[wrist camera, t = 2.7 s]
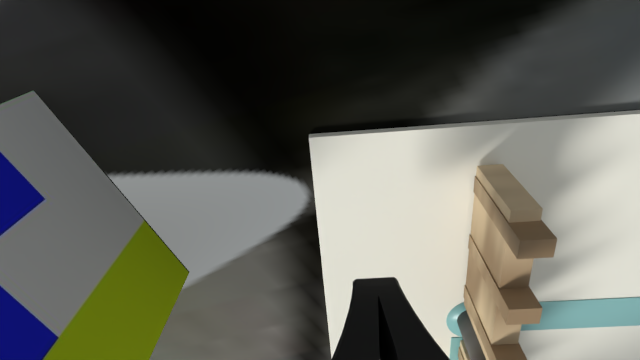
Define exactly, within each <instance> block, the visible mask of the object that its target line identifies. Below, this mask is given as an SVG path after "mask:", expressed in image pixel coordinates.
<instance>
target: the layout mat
mask: <svg viewBox="0 0 640 360" xmlns="http://www.w3.org/2000/svg"><path fill="white" fill-rule="evenodd" d="M309 145H310V155H311V164H312V174H313V184H314V193H315V203H316V213H317V222H318V232H319V242H320V251H321V261H322V271H323V280H324V290H325V300H326V309H327V319H328V328H329V338H330V348H331V357H333V355H334V352H335V350H336V347H337V344H338V342H339V339H340V336H341V334H342V331H343V328H344V324H345V321H346V318H347V314H348V311H349V306H350V302H351V297H352V288H353V281H354V280H355V279H365V278H384V277H395V278H396V279H397V280H398V282H399V285H400V287H401V289H402V291H403V293H404V294H405V296H406V298H407V300H408V301H409V303H410V305H411V307H412V308H413V310H414V311H415V313H416V314H417V316H418V317H419V319H420V320H421V322H422V323H423V325H424V326H425V328H426V329H427V331H428V332H429V333H430V335H431V336H432V337H433V339H434V340H435V341H436V343H437V344H438V345H439V346H440V348H441V349H442V350H443V352H444V353H445V354H446V355H447V356H448V358H449V359H450V360H458V359H459V358H458V349H459V347H460V340H463V338H462V335H461V332H460V329H459V327H458V324H457V318H458V316H459V315H460V314H461V313H462V312H464V311H466V308H465V306H464V297H463V296H464V285H466V276H467V265H468V255H469V249H468V243H469V234H471V224H472V213H473V203H474V192H473V190H474V179H475V176H476V171H477V166H481V165H496V164H503V165H504V166H505V167H506V168H507V169H508V170H509V171H510V172H511V174H512V175H513V176H514V177H515V178H516V179H517V180H518V181H519V183H520V184H521V185H522V186H523V187H524V188H525V189H526V190H527V192H528V193H529V194H530V195H531V196H532V197H533V198H534V199H535V201H536V202H537V203H538V204H539V205H540V206H541V207H542V208H543V211H542V216H541V220H542V221H543V222H544V223H545V225H546V226H547V227H548V228H549V229H550V230H551V232H552V233H553V234H554V235H555V236H556V238H557V243H556V248H555V253H554V257H551V258H534V260H533V265H532V271H531V276H530V281H529V287H530V289H531V290H532V292H533V293H534V295H535V297H536V298H537V300H538V301H539V303H540V305H541V306H542V308H543V309H542V314H541V319H540V324H522V325H521V330H520V335H519V341H518V342H519V344H520V346H521V348H522V350H523V352H524V354H525V356H526V358H527V360H640V110H634V111H620V112H606V113H592V114H579V115H565V116H551V117H537V118H524V119H510V120H496V121H483V122H469V123H455V124H441V125H428V126H414V127H400V128H387V129H373V130H359V131H345V132H332V133H318V134H309ZM380 360H381V359H380Z"/></svg>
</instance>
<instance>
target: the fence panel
mask: <svg viewBox="0 0 640 360" xmlns="http://www.w3.org/2000/svg"><path fill="white" fill-rule="evenodd" d="M473 192H474V203H473V213H472V224H471V234H469V243H468V249H469V255H468V265H467V276H466V285H464V296H463V297H464V306H465V308H466V311H467V313H468V316H469V318H470V321H471V323H472V326H473V328H474V331H475V333H476V335H477V338H478V340H479V343H480V345H481V348H482V350H483V353H484V355H485V358H486V360H527V358H526V356H525V354H524V352H523V350H522V348H521V346H520V344H519V342H518V341H519V335H520V330H521V325H522V324H540V319H541V314H542V309H543V308H542V306H541V305H540V303H539V301H538V300H537V298H536V297H535V295H534V293H533V292H532V290H531V289H530V287H529V281H530V276H531V271H532V265H533V260H534V258H551V257H554V253H555V248H556V243H557V238H556V236H555V235H554V234H553V233H552V232H551V230H550V229H549V228H548V227H547V226H546V225H545V223H544V222H543V221H542V220H541V216H542V211H543V208H542V207H541V206H540V205H539V204H538V203H537V202H536V201H535V199H534V198H533V197H532V196H531V195H530V194H529V193H528V192H527V190H526V189H525V188H524V187H523V186H522V185H521V184H520V183H519V181H518V180H517V179H516V178H515V177H514V176H513V175H512V174H511V172H510V171H509V170H508V169H507V168H506V167H505V166H504V165H503V164H496V165H481V166H477V171H476V176H475V179H474V190H473Z"/></svg>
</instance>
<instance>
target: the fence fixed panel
mask: <svg viewBox="0 0 640 360" xmlns="http://www.w3.org/2000/svg"><path fill="white" fill-rule="evenodd" d="M457 324H458V327H459V329H460V332H461V335H462V338H463V340H460V347H459V349H458V358H459V359H458V360H486V358H485V355H484V353H483V350H482V348H481V345H480V343H479V340H478V338H477V335H476V333H475V331H474V328H473V326H472V323H471V321H470V318H469V316H468V313H467V311H464V312H462V313H461V314H460V315H459V316H458V318H457Z"/></svg>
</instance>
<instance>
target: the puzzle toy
mask: <svg viewBox="0 0 640 360" xmlns="http://www.w3.org/2000/svg"><path fill="white" fill-rule="evenodd" d="M188 274H189V271H188V270H187V268H186V267H185V266H184V265H183V264H182V262H180V260H179V259H178V258H177V257H176V255H175V254H174V253H173V252H172V251H171V250H170V249H169V247H168V246H167V245H166V244H165V243H164V241H163V240H162V239H161V238H160V237H159V235H158V234H157V233H156V232H155V231H154V230H153V228H152V227H151V226H150V225H149V224H148V223H147V221H146V220H145V219H144V218H143V217H142V216H141V215H140V213H139V212H138V211H137V210H136V208H134V206H133V205H132V204H131V203H130V201H129V200H128V199H127V198H126V197H125V196H124V194H123V193H122V192H121V191H120V190H119V188H118V187H117V186H116V185H115V184H114V183H113V181H112V180H111V179H110V178H109V177H108V176H106V175H105V174H104V172H103V171H102V170H101V169H100V168H99V167H98V165H97V164H96V163H95V162H94V161H93V160H92V158H91V157H90V156H89V155H88V154H87V153H86V151H85V150H84V149H83V148H82V147H81V146H80V144H79V143H78V142H77V141H76V140H75V138H74V137H73V136H72V135H71V134H70V133H69V131H68V130H67V129H66V128H65V127H64V126H63V124H62V123H61V122H60V121H59V120H58V119H57V117H56V116H55V115H54V114H53V113H52V112H51V110H50V109H49V108H48V107H47V106H46V104H45V103H44V102H43V101H42V100H41V99H40V97H39V96H38V95H37V94H36V93H35V92H34V90H33V91H31V92H28V93H26V94H24V95H21V96H19V97H16V98H14V99H11V100H9V101H7V102H4V103H2V104H0V360H149V358H150V356H151V354H152V352H153V350H154V348H155V345H156V343H157V341H158V339H159V337H160V335H161V332H162V330H163V328H164V326H165V324H166V322H167V319H168V317H169V315H170V313H171V311H172V309H173V306H174V304H175V302H176V300H177V298H178V296H179V293H180V291H181V289H182V287H183V285H184V283H185V280H186V278H187V276H188Z"/></svg>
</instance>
